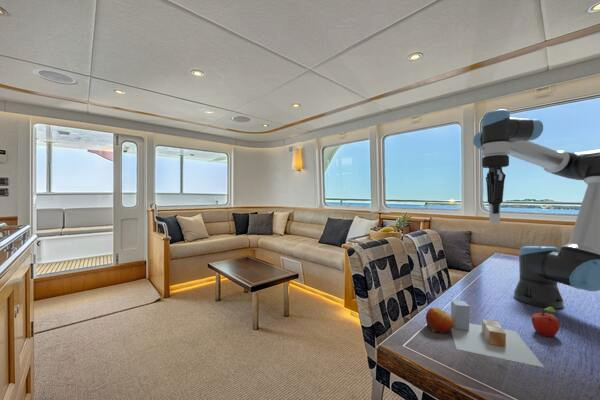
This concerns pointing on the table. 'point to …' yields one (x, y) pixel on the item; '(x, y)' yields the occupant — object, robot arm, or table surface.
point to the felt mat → (478, 344)
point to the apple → (545, 323)
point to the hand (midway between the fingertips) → (494, 222)
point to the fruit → (439, 320)
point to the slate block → (460, 314)
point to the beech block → (493, 333)
